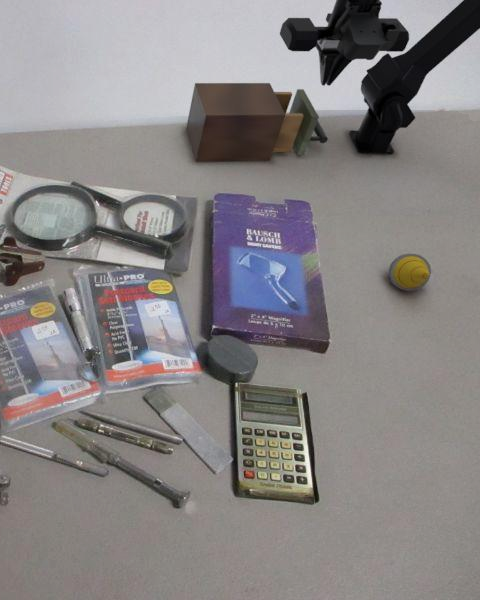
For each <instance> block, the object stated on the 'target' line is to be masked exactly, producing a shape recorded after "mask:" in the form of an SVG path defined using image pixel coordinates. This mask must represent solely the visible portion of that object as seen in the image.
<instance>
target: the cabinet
mask: <svg viewBox="0 0 480 600" xmlns="http://www.w3.org/2000/svg"><path fill="white" fill-rule="evenodd" d="M274 92H275V91H274V88H273V86H272V84H271V83H270V82H195V83H194V87H193V92H192V97H191V102H190V106H189V112H188V116H187V122H186V128H185V130H186V134H187V137H188V142H189V144H190V148H191V151H192V155H193V158H194V161H195V163H214V162H215V163H217V162H218V163H219V162H221V163H222V162H226V163H227V162H235V163H236V162H270V161H271V158H272V156H273V153H274V152H273V150H274V147H275V144H276V141H277V138H278V135H279V132H280V130H281V127H282V124H283V121H284V117H285V113H284V111H283V109H282V107H281V105H280V103H279V101H278V99H277V97H276V95H275V93H274Z"/></svg>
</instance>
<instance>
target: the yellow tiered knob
mask: <svg viewBox="0 0 480 600" xmlns="http://www.w3.org/2000/svg"><path fill="white" fill-rule="evenodd" d="M431 274H432V268H431V264H430V262H429V261H428V260H427V258H425V257H424V256H422V255H420V254H417V253H403V254H401V255H399V256H397V257H396V258H394V259H393V260H392V261H391V263H390V265H389V268H388V278H389V281H390V282H391V283H392V285H393V286H394V287H395V288H397V289H399V290H402V291H407V292H408V291H409V292H412V291H417V290H418V291H419V289H422V288H423V287H425V286H426V285H427V283H428V282H429V281H430V279H431Z"/></svg>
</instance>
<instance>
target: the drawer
mask: <svg viewBox="0 0 480 600" xmlns="http://www.w3.org/2000/svg"><path fill="white" fill-rule="evenodd" d="M274 93H275V95H276V97H277V99H278V101H279V103H280V105H281V107H282V109H283V111H284V113H285V117H284V121H283V124H282V127H281V130H280V132H279V135H278V138H277V141H276V144H275V147H274V150H273V153H291V152H292V149H293V148H294V150H295V152H296V154H297V155H298V156H304V155H305V154H306V152H307V149H308V147H309V144H310V142H319V143H320V144H325V143H327V142H328V140H329V138H328V135H327V134H326V132H325V130H324V128H323V126H322V125H321V123H320V121H319V118H320V117H319V115H318V112H317V111H316V109H315V108H314V105H313V104H312V102H311V100H310V98H309V96H308V95H307V93H306V91H305V90H304V89H303V88H298V89H296V92H295V95H294V97H293V100H291V99H292V96H293V93H292V91H274ZM291 101H292V103H291ZM290 103H291V107H290V110H289V112H288V113H287V111H288V108H289V106H290ZM313 134H315V135H313Z"/></svg>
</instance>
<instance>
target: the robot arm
mask: <svg viewBox="0 0 480 600" xmlns="http://www.w3.org/2000/svg"><path fill="white" fill-rule="evenodd" d="M382 4H383V2H382V1H381V0H335V3H334V6H333V8H332V12H327V15H326V18H325V21H326V22H327V25H326V26H315V24H314V22H313V21H312V20H311V18H310V17H288V18H287V19H285V21H283V22H282V24H281V28H280V31H279V36H280V37H281V39H282V41H283V43H284V45H285V46H286V48H287V50H289V51H291V52H310V51H312V50H313V49H314V48H316V50H317V52H318V58H319V59H318V60H319V77H320V84H321V86H323V87H325V86H327V87H328V86H329V87H330V86H331V85H332V84H333V83H334V82H335V80H336V79H337V78H338V77H339V76H340V75H341V73H342V72H343V71H344V70H345V69H346V68H347V67H348V66H349V65H350V64H351V62H352V61H355V60H366V61H372V60H374V59H375V58H376V56H377V55H378V53H379V52H387V53H386V54H384V55H382V57H381V58H380V59H379V60H378V61H377V62H376V63H375V64H374V65H372V66H371V67H369V68H368V69H366V75H364V77H363V78H362V80H361V82H360V83H361V84H360V92H361V94H362V96H363V102H364V103H365V104H366V105H367V107H368V109H367V111H366V113H365V115H364V117H363V119H362V121H361V124H360V126H359V127H358V130H354V129H353V130H352V129H351V130H349V132H348V135H349V137H350V138H351V141H352V143H353V145H354V147H355V149H356V151H357V152H358V153H359V154H372V155H373V154H374V155H376V154H377V155H393V154H395V150H394V147H393V146H392V144H391V143H392V142H393V140H394V137H395V135H396V132H397V131H398V130H399V129H406V128H408V127H409V126H410V125H411V124H412V123H413V122H414V120H415V119H416V116H415V114H414V113H413V111H412V110H411V108H410V106H409V104H410V103H411V101H413V100H414V98H415V97H416V96H418V93H419V92H420V90H421V87H422V85H423V83H424V81H425V79H426V77H427V75H428V74H430V72H432V71H433V70H434V69H435V68H436V67H437V66H439V64H440V63H442V62H443V61H444V60H445V59H446V58H448V57H449V56H450V55H451V54H452V53H453V52H455V50H457V49H458V48H459V47H460V46H461V45H462V44H464V43H465V42H466V41H467V40H468V39H470V38H471V37H472V36H474V34H475V33H477V32H478V31H479V30H480V0H462V1H461V2H460V3H458V5H456V7H454V8H453V9H452V10H451V11H450V12H449V13H448V14H447V15H446V16H444V17H443V18H442V19H441V20H440V21H439V22H438V23H436V25H435V26H433V27H432V28H431V29H430V30H429V31H427V33H426V34H425V35H424V36H423V37H421V39H419V40H418V41H417V42H415V44H414V45H413V46H411V48H409V49H408V50H407V51H406V52H404V51H405V50H406V48H407V45H408V43H409V41H410V32H409V30H408V29H407V28H406V27H405V26H404V25H403V24H402V22H401V21H400V20H399V19H398V18H397V17H396V18H394V17H393V18H392V17H388V18H387V17H380V12H381V9H382ZM389 52H395V53H396V52H404V53H402V54H399V55H396V56H394V57H392V56H391V55H390V54H389Z"/></svg>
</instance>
